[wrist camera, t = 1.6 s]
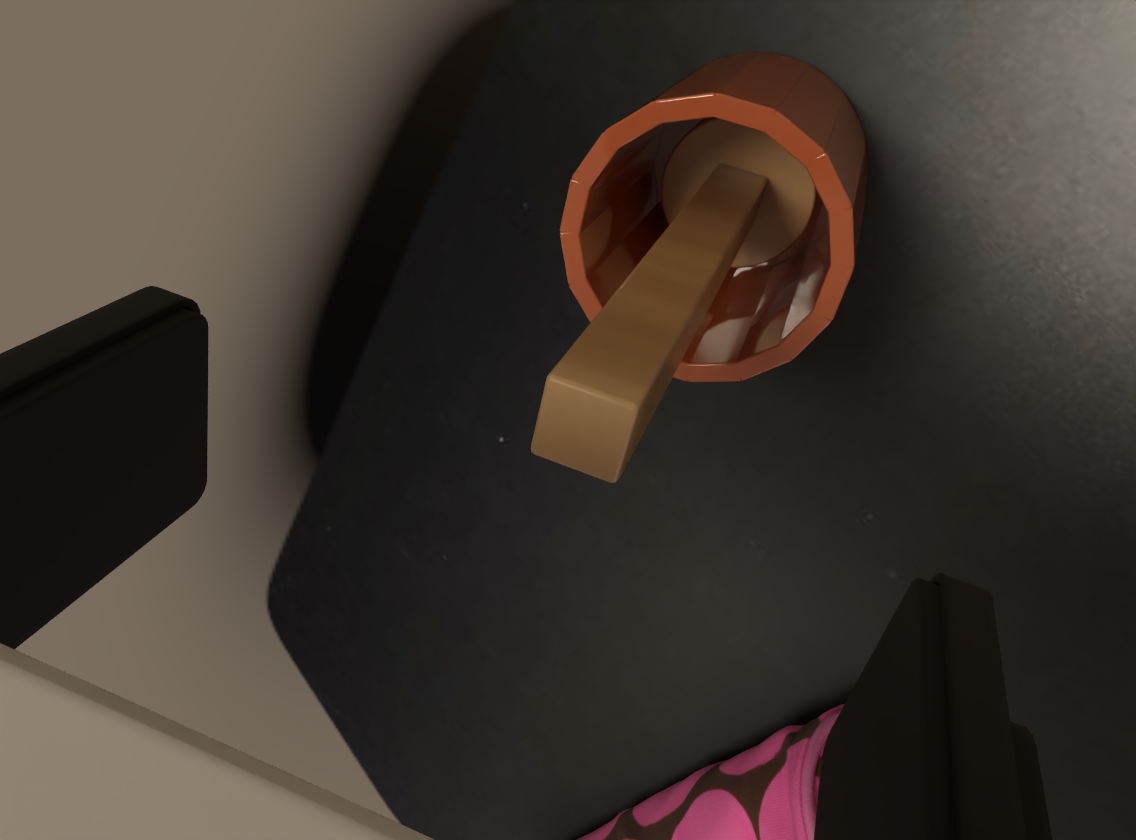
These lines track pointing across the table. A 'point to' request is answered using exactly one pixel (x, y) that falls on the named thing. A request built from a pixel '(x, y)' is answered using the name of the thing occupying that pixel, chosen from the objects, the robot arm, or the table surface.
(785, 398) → the table surface
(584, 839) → the pencil case
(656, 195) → the crock
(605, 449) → the wooden post with base
